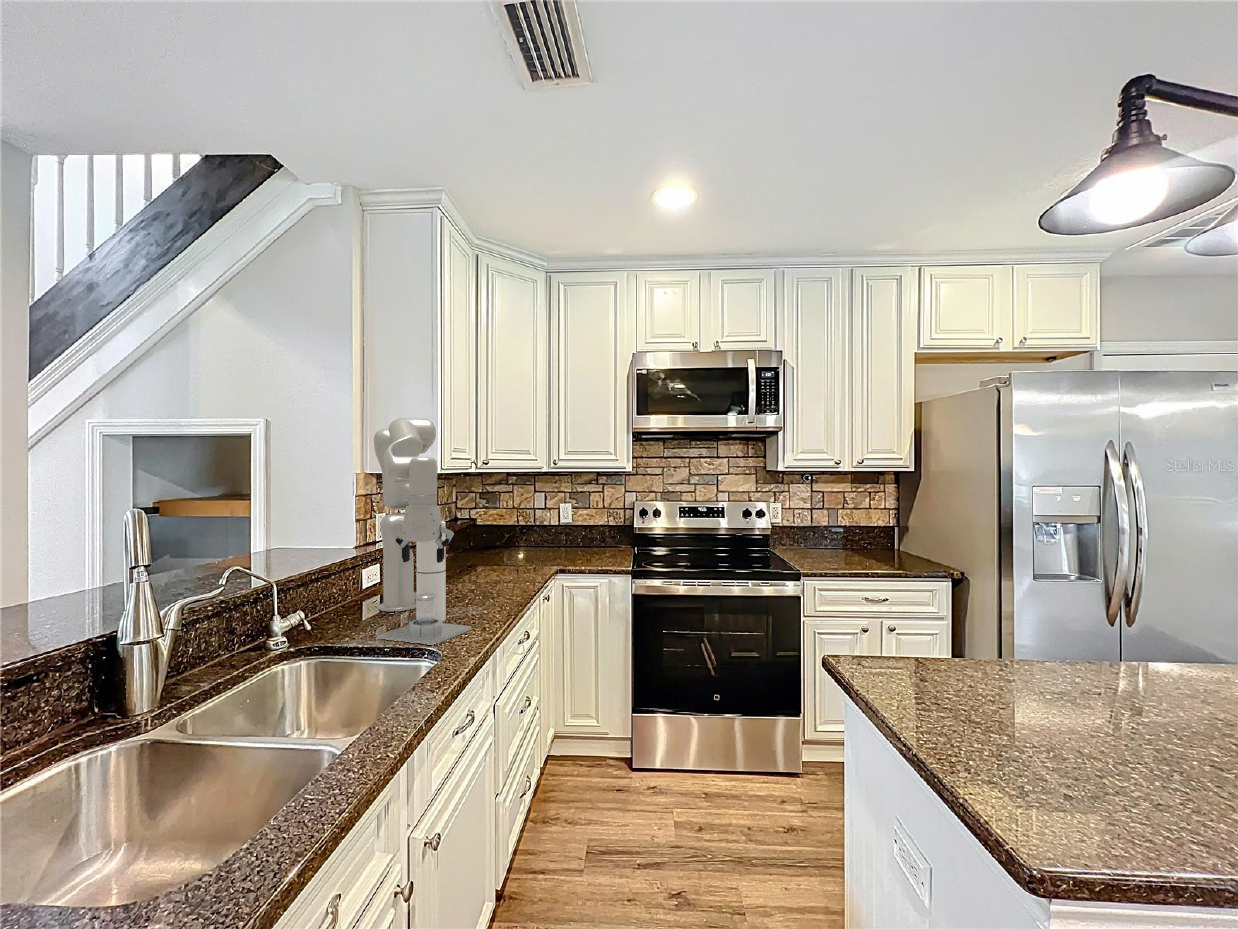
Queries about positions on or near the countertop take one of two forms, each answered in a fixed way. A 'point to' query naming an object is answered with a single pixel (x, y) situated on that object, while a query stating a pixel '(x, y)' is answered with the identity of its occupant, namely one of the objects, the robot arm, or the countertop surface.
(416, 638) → the flange
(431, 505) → the robot arm
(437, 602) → the container
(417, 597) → the grey cylinder
